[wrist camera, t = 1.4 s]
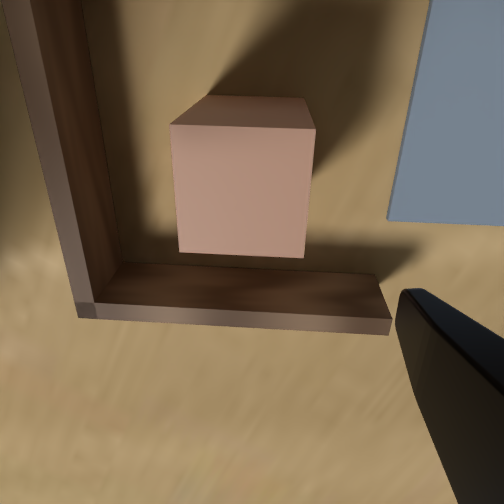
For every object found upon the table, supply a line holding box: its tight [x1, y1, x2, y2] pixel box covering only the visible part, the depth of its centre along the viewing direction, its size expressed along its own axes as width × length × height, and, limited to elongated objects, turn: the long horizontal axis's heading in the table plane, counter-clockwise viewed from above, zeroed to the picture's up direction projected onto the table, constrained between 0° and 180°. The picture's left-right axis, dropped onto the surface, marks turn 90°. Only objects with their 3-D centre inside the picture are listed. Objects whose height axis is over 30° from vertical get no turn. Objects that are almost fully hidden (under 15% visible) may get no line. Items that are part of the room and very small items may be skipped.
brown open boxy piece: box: [1, 0, 392, 336], centre depth 17 cm, size 16×16×4 cm
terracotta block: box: [169, 95, 316, 258], centre depth 16 cm, size 4×4×7 cm
